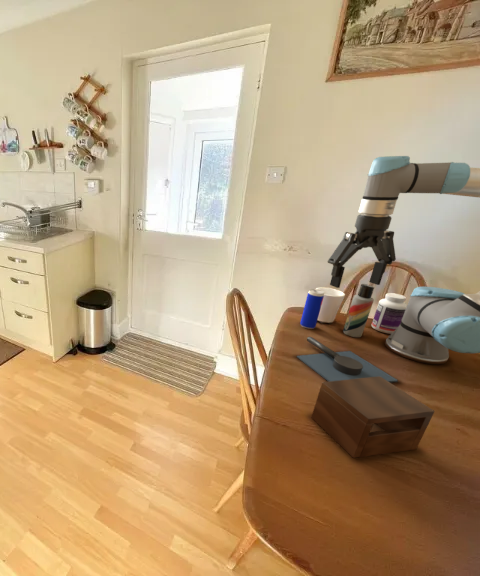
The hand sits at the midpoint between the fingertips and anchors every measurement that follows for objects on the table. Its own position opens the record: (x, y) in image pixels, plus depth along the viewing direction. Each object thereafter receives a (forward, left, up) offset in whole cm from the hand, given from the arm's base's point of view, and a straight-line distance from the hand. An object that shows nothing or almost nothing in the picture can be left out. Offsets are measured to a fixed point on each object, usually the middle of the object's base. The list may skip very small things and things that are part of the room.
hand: (354, 284), depth 96 cm
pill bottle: (-34, -13, -26) cm, 45 cm away
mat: (+3, +7, -26) cm, 27 cm away
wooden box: (+21, +30, -26) cm, 45 cm away
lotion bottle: (-19, -12, -26) cm, 34 cm away
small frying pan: (+3, +2, -25) cm, 25 cm away
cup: (-17, -24, -26) cm, 39 cm away
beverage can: (-7, -20, -26) cm, 33 cm away
